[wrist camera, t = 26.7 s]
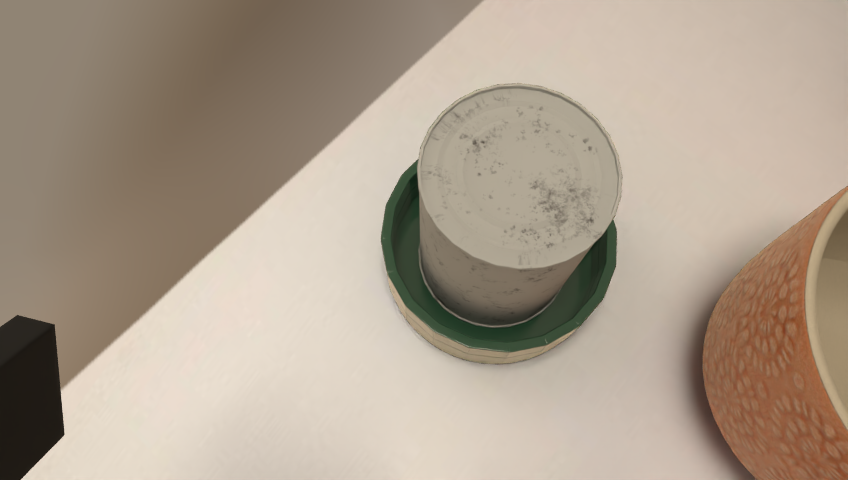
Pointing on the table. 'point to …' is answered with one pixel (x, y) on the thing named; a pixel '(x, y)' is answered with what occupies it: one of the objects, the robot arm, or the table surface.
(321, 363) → the table surface
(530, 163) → the dirty tin can
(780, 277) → the planter
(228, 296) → the table surface
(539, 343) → the green bowl
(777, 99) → the table surface
